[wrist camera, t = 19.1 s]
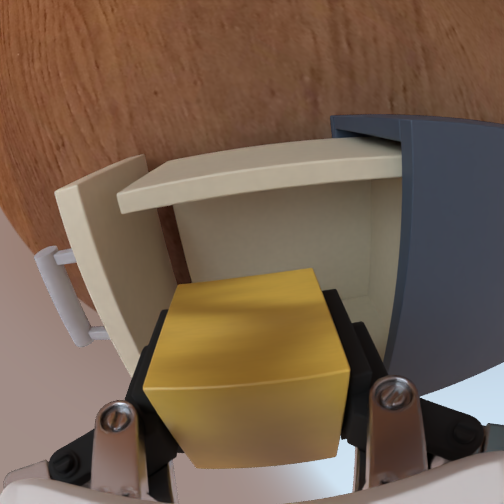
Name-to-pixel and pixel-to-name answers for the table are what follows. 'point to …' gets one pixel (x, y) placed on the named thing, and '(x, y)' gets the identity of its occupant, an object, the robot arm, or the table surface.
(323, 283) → the drawer
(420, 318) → the cabinet
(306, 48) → the table surface
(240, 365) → the block
